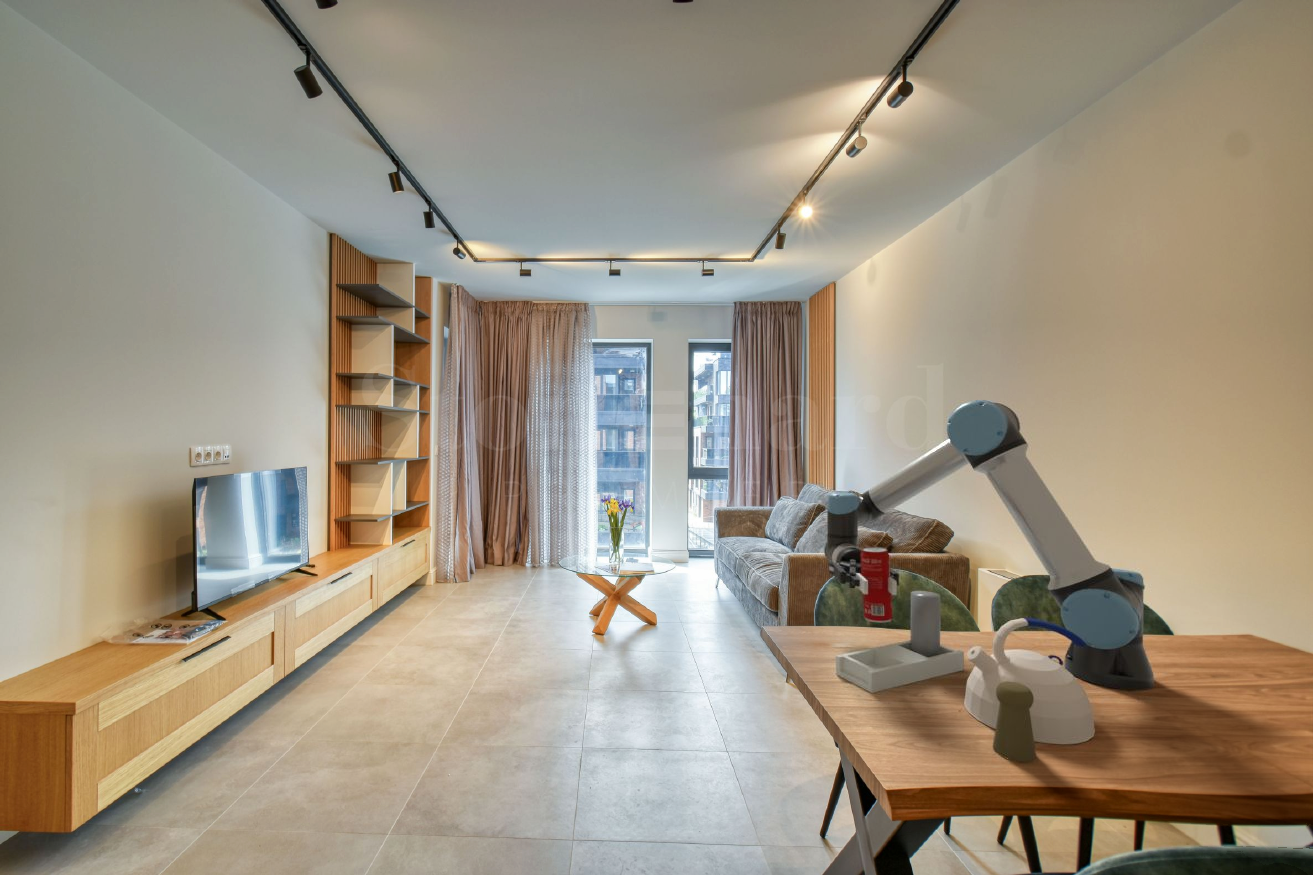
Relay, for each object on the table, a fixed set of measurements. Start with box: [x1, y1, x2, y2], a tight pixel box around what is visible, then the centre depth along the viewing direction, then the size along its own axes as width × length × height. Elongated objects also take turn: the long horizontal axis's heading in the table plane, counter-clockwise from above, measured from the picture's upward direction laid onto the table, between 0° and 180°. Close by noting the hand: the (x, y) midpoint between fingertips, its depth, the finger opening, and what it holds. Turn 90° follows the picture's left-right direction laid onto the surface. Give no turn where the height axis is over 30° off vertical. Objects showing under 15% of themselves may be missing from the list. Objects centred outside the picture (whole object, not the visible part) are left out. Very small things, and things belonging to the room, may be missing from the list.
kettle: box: [963, 617, 1096, 746], centre depth 108 cm, size 20×21×18 cm
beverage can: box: [861, 546, 894, 624], centre depth 124 cm, size 6×6×15 cm
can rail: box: [835, 590, 965, 694], centre depth 127 cm, size 27×10×16 cm, turn 115°
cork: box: [992, 681, 1037, 764], centre depth 95 cm, size 6×6×11 cm
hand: (880, 587), depth 119 cm, fingers closed on beverage can, 5 cm apart
